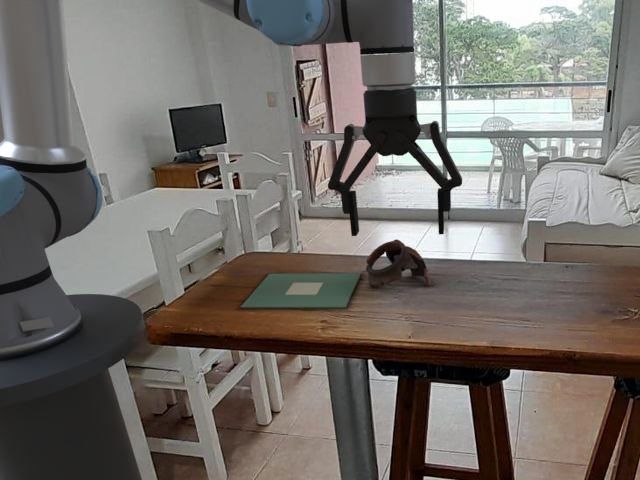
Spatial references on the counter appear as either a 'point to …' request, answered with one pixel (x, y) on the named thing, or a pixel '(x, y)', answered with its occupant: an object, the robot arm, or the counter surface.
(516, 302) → the counter surface
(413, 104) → the robot arm
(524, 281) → the counter surface
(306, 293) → the centre mat
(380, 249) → the broken pottery ring
